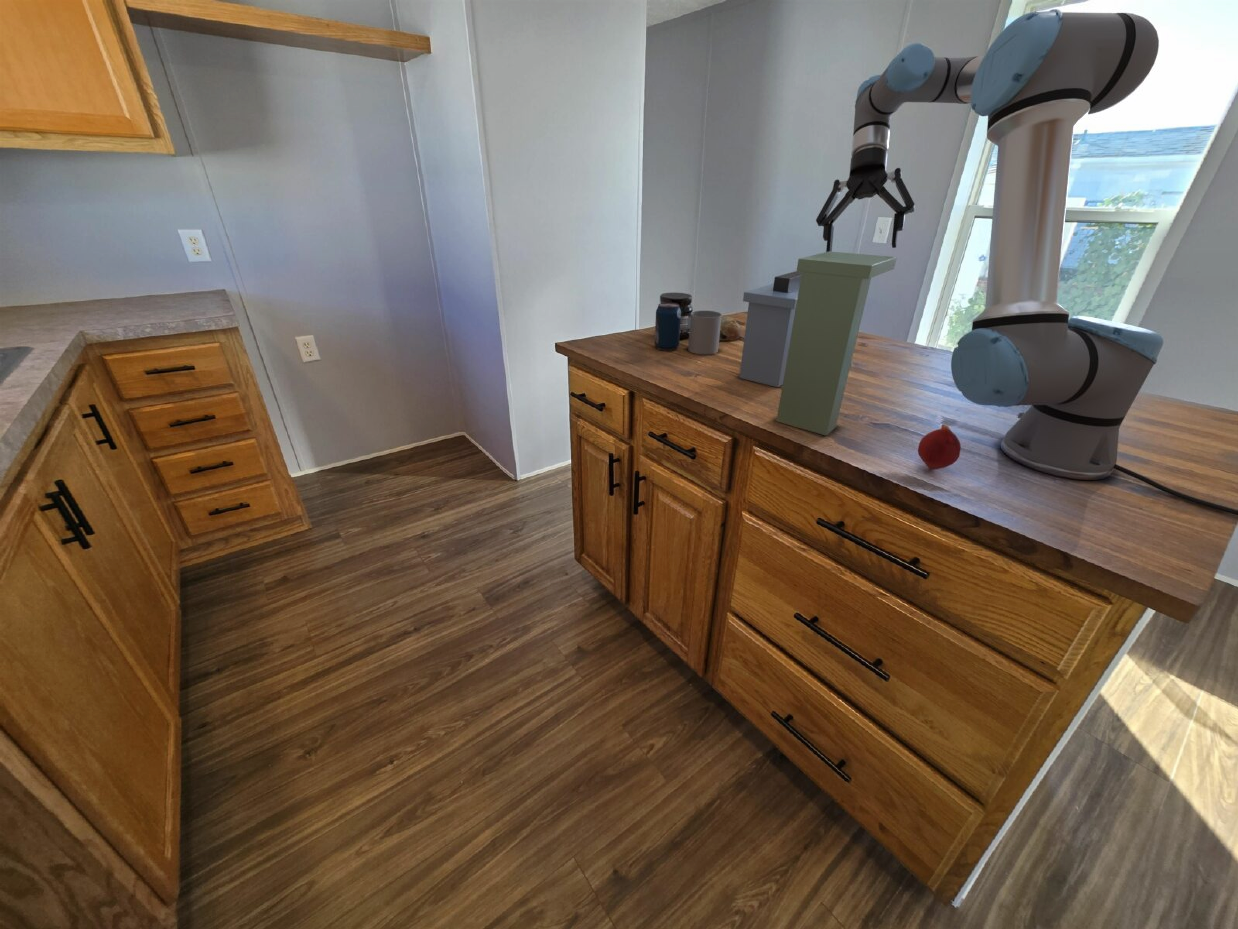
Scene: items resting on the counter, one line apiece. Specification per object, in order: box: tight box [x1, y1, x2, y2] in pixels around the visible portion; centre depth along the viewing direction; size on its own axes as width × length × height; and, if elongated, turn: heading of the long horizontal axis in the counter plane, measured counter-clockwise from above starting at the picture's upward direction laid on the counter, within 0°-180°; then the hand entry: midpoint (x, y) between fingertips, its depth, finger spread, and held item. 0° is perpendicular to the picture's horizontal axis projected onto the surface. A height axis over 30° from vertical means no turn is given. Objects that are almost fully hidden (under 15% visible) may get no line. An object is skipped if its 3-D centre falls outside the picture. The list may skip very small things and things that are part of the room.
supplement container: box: [659, 292, 694, 340], centre depth 152 cm, size 10×10×12 cm
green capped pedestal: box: [775, 251, 898, 437], centre depth 94 cm, size 12×14×30 cm
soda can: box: [654, 302, 681, 352], centre depth 141 cm, size 7×7×12 cm
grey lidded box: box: [738, 283, 799, 388], centre depth 120 cm, size 12×20×20 cm, turn 140°
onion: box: [917, 423, 962, 471], centre depth 82 cm, size 6×6×8 cm
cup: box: [687, 310, 723, 355], centre depth 140 cm, size 8×8×10 cm
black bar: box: [773, 270, 802, 293], centre depth 119 cm, size 4×22×3 cm, turn 140°
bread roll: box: [719, 315, 741, 342], centre depth 153 cm, size 10×10×8 cm
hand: (860, 249), depth 116 cm, fingers open, 13 cm apart
